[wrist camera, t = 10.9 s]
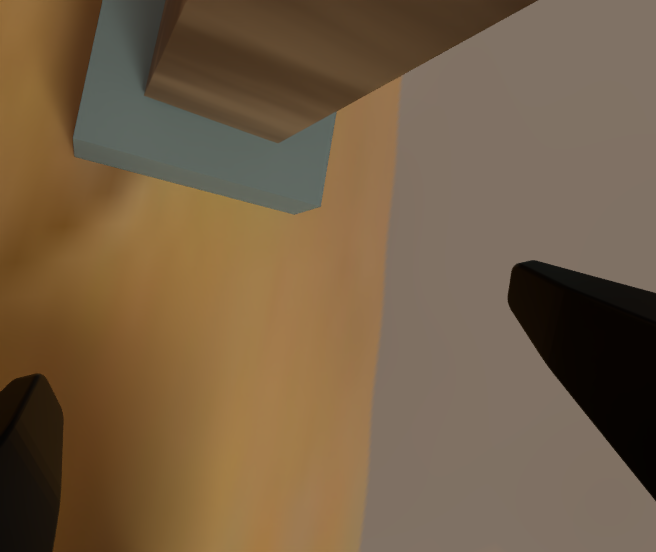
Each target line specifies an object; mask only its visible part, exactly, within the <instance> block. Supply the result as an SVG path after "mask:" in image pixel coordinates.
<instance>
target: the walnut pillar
mask: <svg viewBox="0 0 656 552" xmlns="http://www.w3.org/2000/svg"><path fill="white" fill-rule="evenodd" d="M536 1H537V0H165V5H164V9H163V13H162V18H161V22H160V27H159V31H158V35H157V40H156V44H155V49H154V53H153V58H152V62H151V66H150V71H149V75H148V80H147V84H146V88H145V93H144V96H147V97H149V98H152V99H155V100H158V101H160V102H163V103H166V104H169V105H172V106H174V107H177V108H180V109H183V110H186V111H188V112H191V113H194V114H197V115H200V116H202V117H205V118H208V119H211V120H213V121H216V122H219V123H222V124H225V125H227V126H230V127H233V128H236V129H239V130H241V131H244V132H247V133H250V134H253V135H255V136H258V137H261V138H264V139H267V140H269V141H272V142H275V143H280V142H282V141H284V140H285V139H287V138H289V137H291V136H293V135H294V134H296V133H298V132H300V131H302V130H304V129H305V128H307V127H309V126H311V125H313V124H314V123H316V122H318V121H320V120H322V119H323V118H325V117H327V116H329V115H331V114H333V113H334V112H336V111H338V110H340V109H342V108H343V107H345V106H347V105H349V104H351V103H352V102H354V101H356V100H358V99H360V98H362V97H363V96H365V95H367V94H369V93H371V92H372V91H374V90H376V89H378V88H380V87H381V86H383V85H385V84H387V83H389V82H391V81H392V80H394V79H396V78H398V77H400V76H401V75H403V74H405V73H407V72H409V71H410V70H412V69H414V68H416V67H418V66H419V65H421V64H423V63H425V62H427V61H429V60H430V59H432V58H434V57H436V56H438V55H440V54H441V53H443V52H445V51H447V50H449V49H450V48H452V47H454V46H456V45H458V44H459V43H461V42H463V41H465V40H466V39H469V38H470V37H472V36H474V35H476V34H477V33H479V32H481V31H483V30H485V29H486V28H488V27H490V26H492V25H494V24H496V23H497V22H499V21H501V20H503V19H505V18H507V17H508V16H510V15H512V14H514V13H516V12H517V11H519V10H521V9H523V8H525V7H527V6H528V5H530V4H532V3H534V2H536Z"/></svg>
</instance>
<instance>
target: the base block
mask: <svg viewBox="0 0 656 552" xmlns="http://www.w3.org/2000/svg"><path fill="white" fill-rule="evenodd" d="M164 5H165V0H103V1H102V6H101V10H100V15H99V20H98V24H97V29H96V33H95V38H94V43H93V47H92V52H91V57H90V61H89V66H88V70H87V75H86V80H85V84H84V89H83V94H82V98H81V103H80V107H79V112H78V117H77V121H76V126H75V131H74V135H73V145H74V156H75V157H78V158H81V159H85V160H89V161H93V162H97V163H100V164H104V165H108V166H112V167H116V168H119V169H123V170H127V171H131V172H135V173H138V174H142V175H146V176H150V177H154V178H157V179H161V180H165V181H169V182H173V183H176V184H180V185H184V186H188V187H192V188H195V189H199V190H203V191H207V192H211V193H215V194H218V195H222V196H226V197H230V198H234V199H237V200H241V201H245V202H249V203H253V204H256V205H260V206H264V207H268V208H272V209H275V210H279V211H283V212H287V213H291V214H294V215H295V214H298V213H301V212H305V211H308V210H311V209H314V208H318V207H321V201H322V195H323V189H324V183H325V177H326V171H327V165H328V159H329V153H330V147H331V141H332V135H333V129H334V124H335V118H336V112H337V111H336V112H334V113H333V114H331V115H329V116H327V117H325V118H323V119H322V120H320V121H318V122H316V123H314V124H313V125H311V126H309V127H307V128H305V129H304V130H302V131H300V132H298V133H296V134H294V135H293V136H291V137H289V138H287V139H285V140H284V141H282V142H280V143H275V142H272V141H269V140H267V139H264V138H261V137H258V136H255V135H253V134H250V133H247V132H244V131H241V130H239V129H236V128H233V127H230V126H227V125H225V124H222V123H219V122H216V121H213V120H211V119H208V118H205V117H202V116H200V115H197V114H194V113H191V112H188V111H186V110H183V109H180V108H177V107H174V106H172V105H169V104H166V103H163V102H160V101H158V100H155V99H152V98H149V97H147V96H144V93H145V88H146V84H147V80H148V75H149V71H150V66H151V62H152V58H153V53H154V49H155V44H156V40H157V35H158V31H159V27H160V22H161V18H162V13H163V9H164Z"/></svg>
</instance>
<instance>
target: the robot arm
mask: <svg viewBox="0 0 656 552" xmlns="http://www.w3.org/2000/svg"><path fill="white" fill-rule="evenodd" d="M508 304H509V307H510V309H511V311H512V312H513V313H514V315H515V317H516V318H517V320H518V321H519V323H520V324H521V326H522V328H523V329H524V331H525V332H526V334H527V335H528V337H529V339H530V340H531V342H532V343H533V345H534V346H535V348H536V349H537V351H538V352H539V354H540V356H541V357H542V358H543V360H544V361H545V363H546V364H547V366H548V367H549V368H550V370H551V371H552V372H553V374H554V375H555V376H556V377H557V379H558V380H559V381H560V382H561V383H562V385H563V386H564V387H565V389H566V390H567V391H568V392H569V394H570V395H571V396H572V397H573V399H574V400H575V401H576V402H577V404H578V405H579V406H580V407H581V409H582V410H583V411H584V412H585V414H586V415H587V416H588V417H589V419H590V420H591V421H592V422H593V424H594V425H595V426H596V427H597V429H598V430H599V431H600V432H601V433H602V435H603V436H604V437H605V438H606V440H607V441H608V442H609V443H610V445H611V446H612V447H613V448H614V450H615V451H616V452H617V453H618V455H619V456H620V457H621V458H622V460H623V461H624V462H625V463H626V464H627V466H628V467H629V468H630V470H631V471H632V472H633V473H634V475H635V476H636V477H637V478H638V480H639V481H640V482H641V483H642V485H643V486H644V487H645V488H646V490H647V491H648V492H649V493H650V494H651V496H652V497H653V498H654V500H655V501H656V293H653V292H650V291H646V290H642V289H639V288H635V287H631V286H628V285H624V284H620V283H616V282H613V281H609V280H605V279H602V278H598V277H594V276H591V275H587V274H583V273H580V272H576V271H572V270H568V269H565V268H561V267H558V266H554V265H550V264H547V263H543V262H539V261H535V260H531V261H526V262H522V263H518V264H516V265H515V266H514V267H513V268H512V271H511V278H510V285H509V291H508ZM62 447H63V412H62V409H61V406H60V404H59V402H58V400H57V398H56V396H55V394H54V392H53V390H52V388H51V386H50V384H49V383H48V381H47V379H46V378H45V376H44V375H42V374H39V373H38V374H33V375H28V376H24V377H20V378H16V379H14V380H13V381H11V382H10V383H9V384H8V385H7V386H6V387H5V388H4V389H3V390H2V391H1V392H0V552H53V546H54V540H55V534H56V528H57V521H58V515H59V507H60V497H61V476H62Z"/></svg>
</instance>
